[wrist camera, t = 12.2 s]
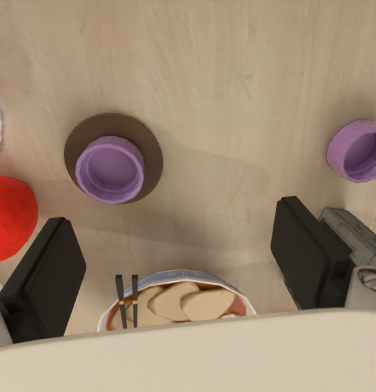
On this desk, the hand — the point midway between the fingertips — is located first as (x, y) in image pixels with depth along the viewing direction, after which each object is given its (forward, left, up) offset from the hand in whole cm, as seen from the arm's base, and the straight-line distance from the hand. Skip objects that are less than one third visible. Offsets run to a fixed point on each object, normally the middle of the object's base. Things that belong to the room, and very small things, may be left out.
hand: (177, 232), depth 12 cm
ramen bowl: (+28, -1, -19) cm, 34 cm away
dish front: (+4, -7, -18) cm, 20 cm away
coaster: (+4, -6, -19) cm, 20 cm away
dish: (+5, +23, -19) cm, 30 cm away
